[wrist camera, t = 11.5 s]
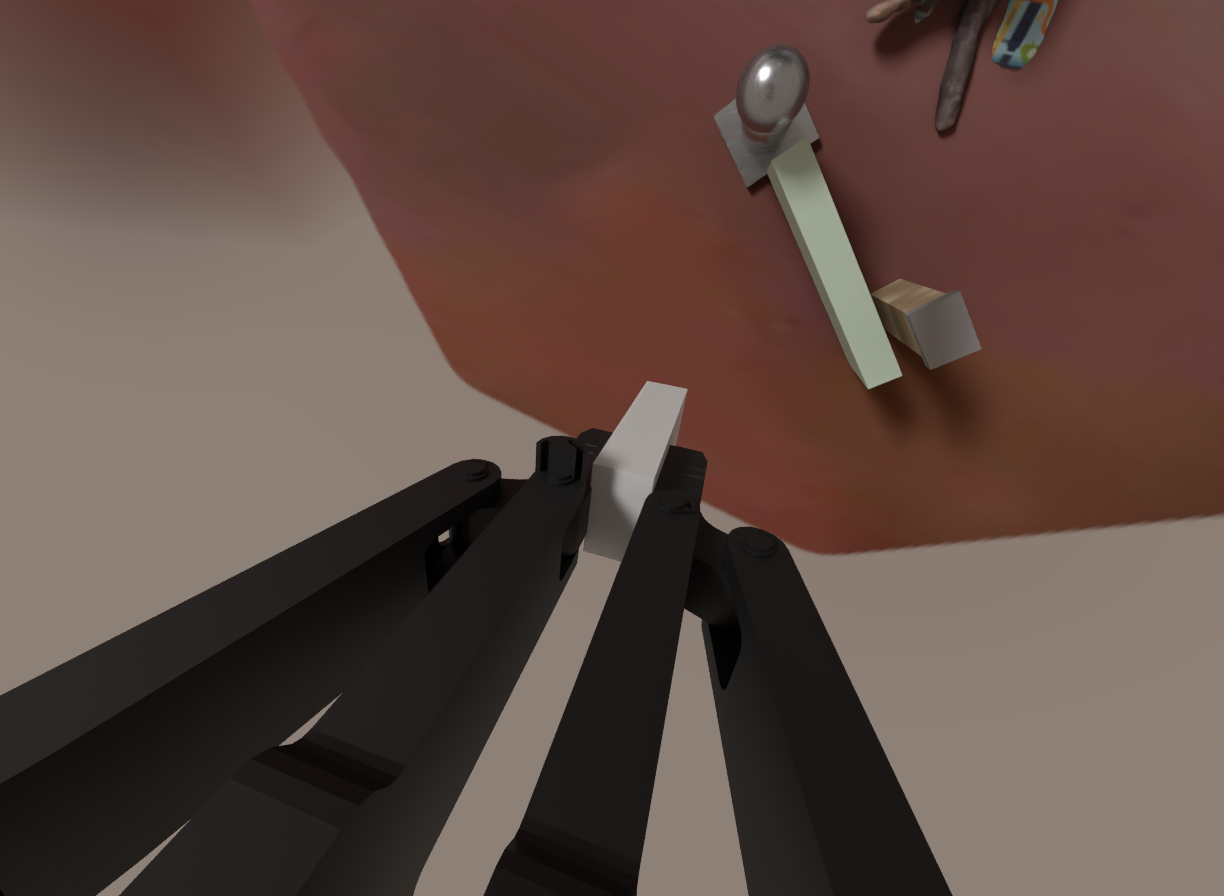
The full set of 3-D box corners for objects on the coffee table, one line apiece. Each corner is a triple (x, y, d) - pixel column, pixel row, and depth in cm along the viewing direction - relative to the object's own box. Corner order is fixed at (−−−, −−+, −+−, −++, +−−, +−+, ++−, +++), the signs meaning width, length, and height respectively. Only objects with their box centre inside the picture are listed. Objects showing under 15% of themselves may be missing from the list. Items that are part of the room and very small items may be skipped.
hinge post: (785, 61, 28) (805, -26, 18) (818, 138, 29) (852, 95, 20) (714, 118, 30) (698, 66, 21) (746, 188, 31) (746, 170, 22)
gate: (766, 172, 30) (771, 160, 25) (796, 153, 29) (807, 136, 24) (849, 364, 34) (868, 389, 28) (877, 352, 33) (902, 375, 27)
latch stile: (902, 274, 31) (960, 291, 23) (919, 317, 32) (981, 348, 23) (866, 293, 32) (908, 315, 24) (883, 333, 33) (930, 369, 24)
